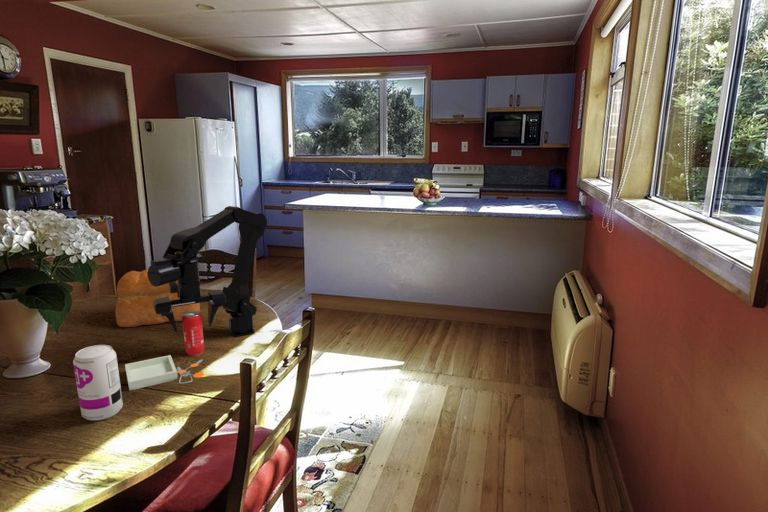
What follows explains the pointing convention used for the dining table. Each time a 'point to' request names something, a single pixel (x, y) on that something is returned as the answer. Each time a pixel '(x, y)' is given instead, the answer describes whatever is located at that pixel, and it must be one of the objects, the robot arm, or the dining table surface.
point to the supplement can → (98, 382)
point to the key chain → (189, 371)
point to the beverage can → (193, 332)
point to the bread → (144, 301)
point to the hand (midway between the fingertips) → (193, 329)
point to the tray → (150, 372)
